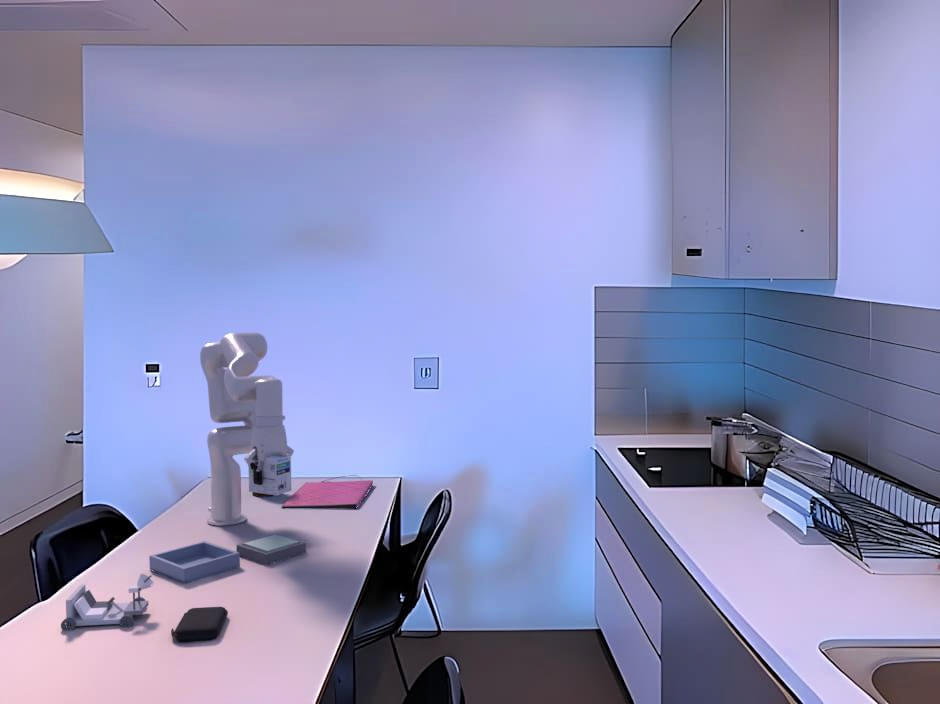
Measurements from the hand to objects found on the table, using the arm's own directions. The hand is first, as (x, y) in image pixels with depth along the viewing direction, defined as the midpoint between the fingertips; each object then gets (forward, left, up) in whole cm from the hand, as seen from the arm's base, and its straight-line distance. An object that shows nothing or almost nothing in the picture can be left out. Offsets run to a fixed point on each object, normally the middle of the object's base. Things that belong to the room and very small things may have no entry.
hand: (270, 481), depth 227 cm
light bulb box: (0, 0, -3) cm, 3 cm away
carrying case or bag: (+31, -43, -22) cm, 57 cm away
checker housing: (0, 0, -21) cm, 21 cm away
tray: (-6, -21, -21) cm, 30 cm away
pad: (0, 0, -19) cm, 20 cm away
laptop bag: (-40, +58, -22) cm, 73 cm away
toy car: (+10, -52, -22) cm, 57 cm away
